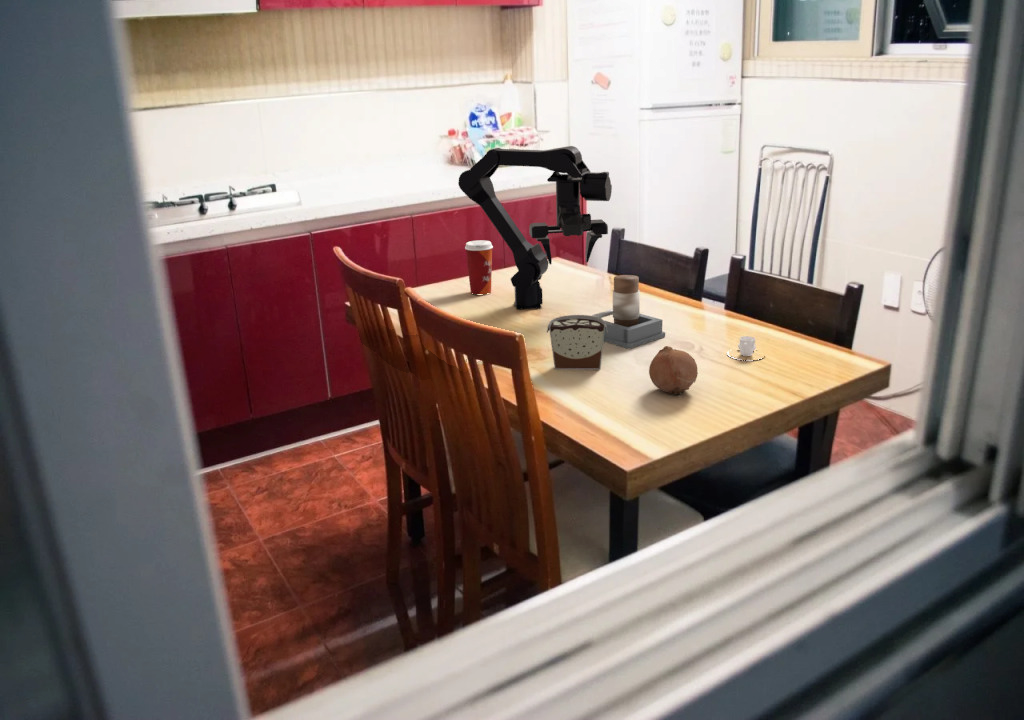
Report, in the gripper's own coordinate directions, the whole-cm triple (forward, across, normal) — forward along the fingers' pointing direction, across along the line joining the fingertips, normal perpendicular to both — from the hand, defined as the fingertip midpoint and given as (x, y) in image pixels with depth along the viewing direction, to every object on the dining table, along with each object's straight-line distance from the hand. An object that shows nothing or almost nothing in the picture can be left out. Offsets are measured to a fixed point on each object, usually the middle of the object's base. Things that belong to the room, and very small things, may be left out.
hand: (568, 263), depth 207 cm
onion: (+12, +10, -58) cm, 60 cm away
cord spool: (+11, +9, -24) cm, 28 cm away
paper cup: (+12, -21, +21) cm, 32 cm away
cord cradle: (+12, +9, -24) cm, 28 cm away
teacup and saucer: (+13, +34, -41) cm, 55 cm away
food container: (+12, -5, -40) cm, 42 cm away
